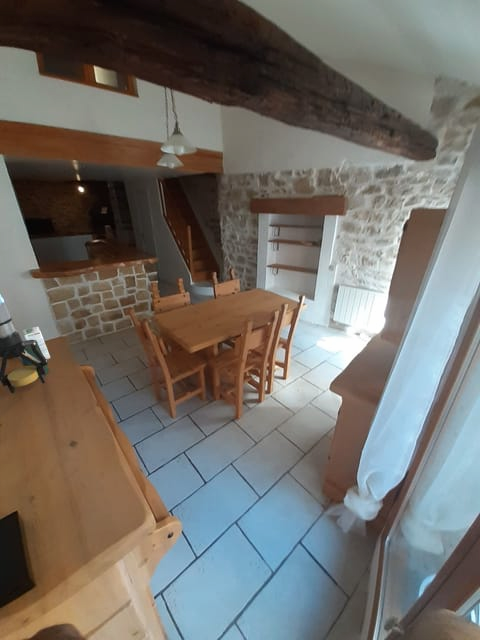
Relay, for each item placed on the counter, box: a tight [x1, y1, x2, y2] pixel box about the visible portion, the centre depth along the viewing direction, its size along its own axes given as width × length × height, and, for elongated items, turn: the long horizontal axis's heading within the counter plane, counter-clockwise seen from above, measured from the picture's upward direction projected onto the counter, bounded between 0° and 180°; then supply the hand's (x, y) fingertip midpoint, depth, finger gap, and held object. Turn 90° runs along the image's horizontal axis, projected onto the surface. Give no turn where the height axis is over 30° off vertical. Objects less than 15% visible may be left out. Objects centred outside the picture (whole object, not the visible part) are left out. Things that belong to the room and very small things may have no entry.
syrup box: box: [22, 326, 51, 360], centre depth 111 cm, size 6×6×14 cm
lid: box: [7, 366, 39, 388], centre depth 92 cm, size 9×8×3 cm
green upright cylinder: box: [18, 340, 50, 379], centre depth 102 cm, size 7×7×14 cm
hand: (29, 385), depth 94 cm, fingers closed on lid, 8 cm apart
